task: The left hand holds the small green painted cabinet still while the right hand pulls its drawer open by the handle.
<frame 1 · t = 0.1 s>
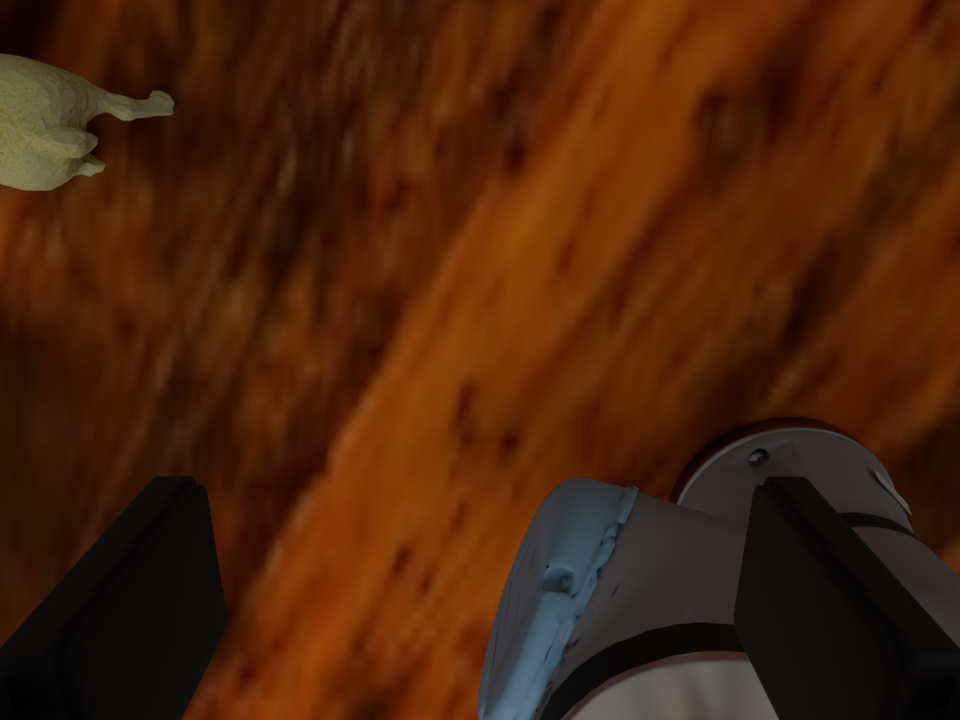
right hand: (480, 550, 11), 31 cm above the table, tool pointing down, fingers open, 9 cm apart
toy: (22, 95, 38), on the table
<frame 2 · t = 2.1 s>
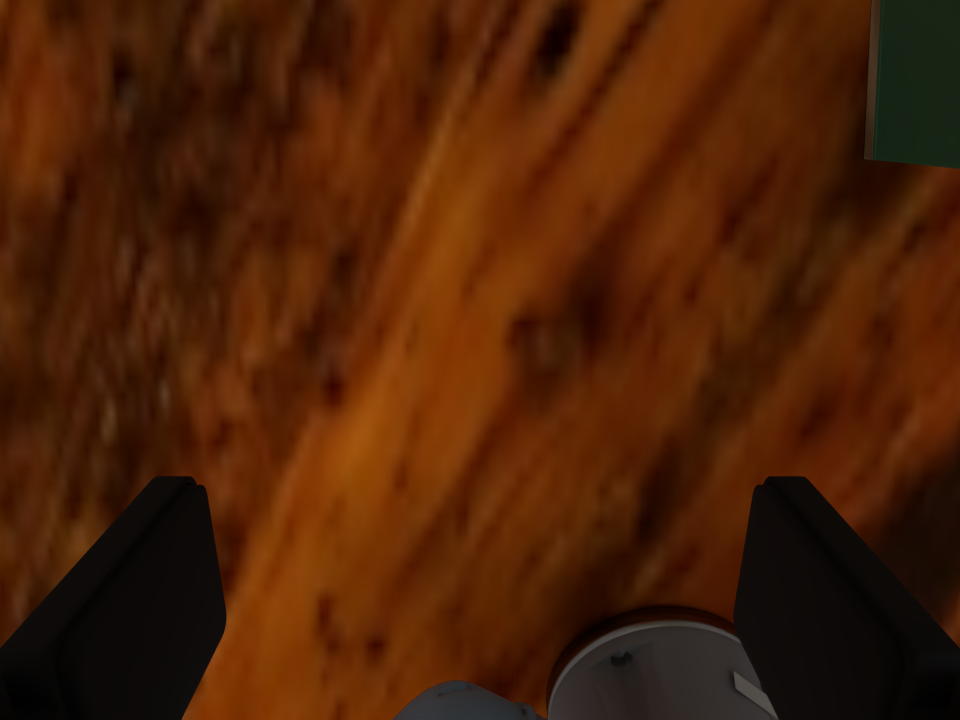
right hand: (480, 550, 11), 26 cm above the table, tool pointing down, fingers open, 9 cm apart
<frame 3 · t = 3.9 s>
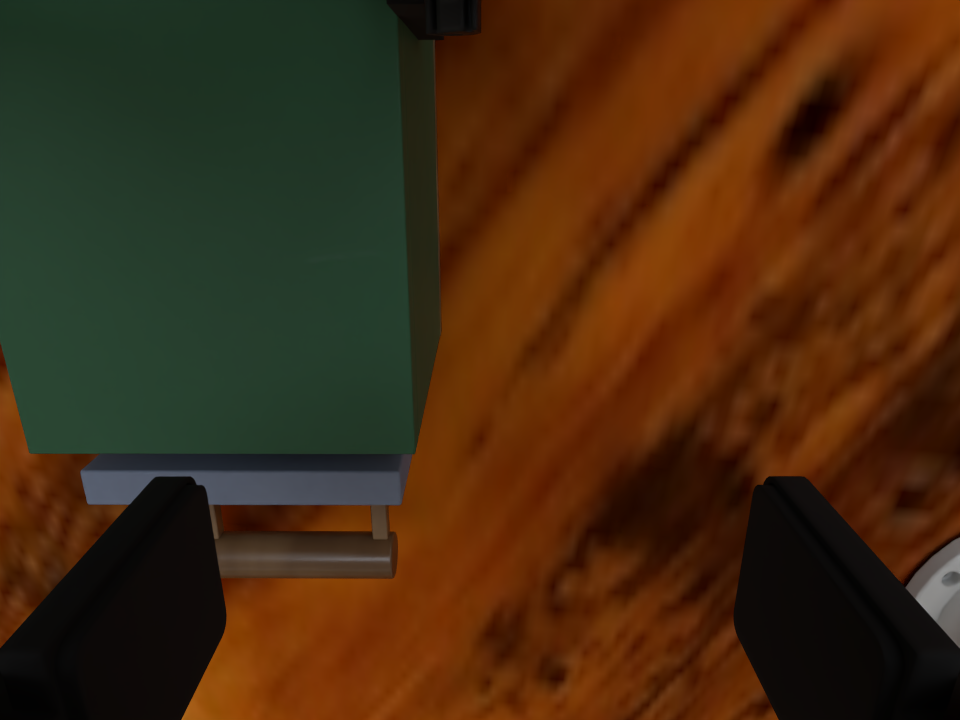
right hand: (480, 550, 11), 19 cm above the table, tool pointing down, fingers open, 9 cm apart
cabinet: (301, 134, 27), on the table, touching left hand
drawer: (274, 319, 23), point 6 cm above the table, slide at 1.1 cm
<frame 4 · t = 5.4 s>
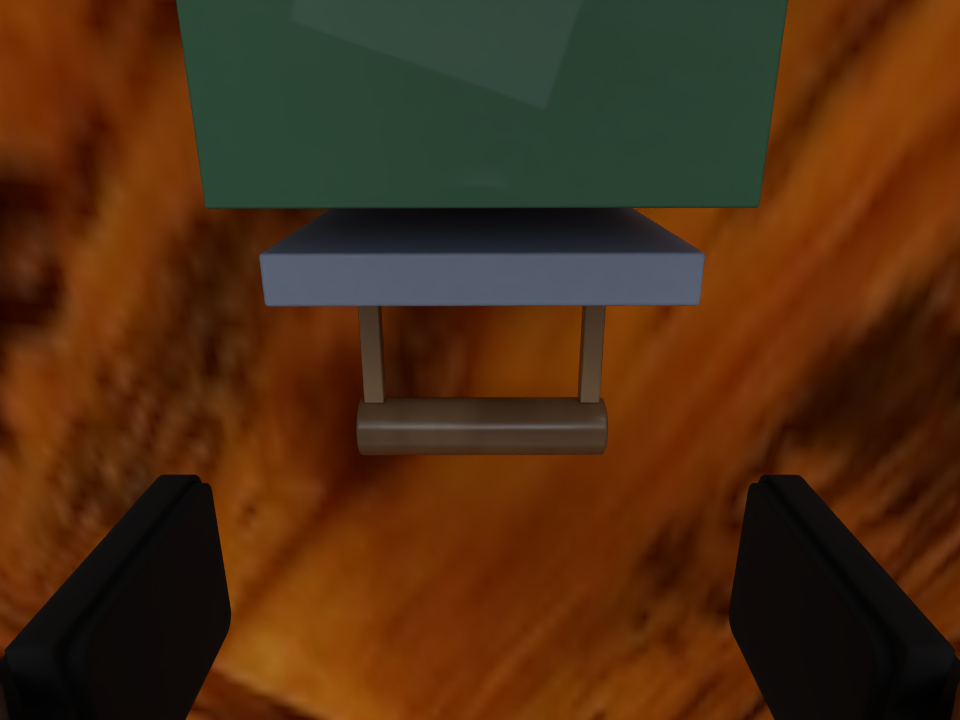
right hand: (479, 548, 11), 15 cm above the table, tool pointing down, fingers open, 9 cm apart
drawer: (481, 92, 18), point 6 cm above the table, slide at 1.1 cm
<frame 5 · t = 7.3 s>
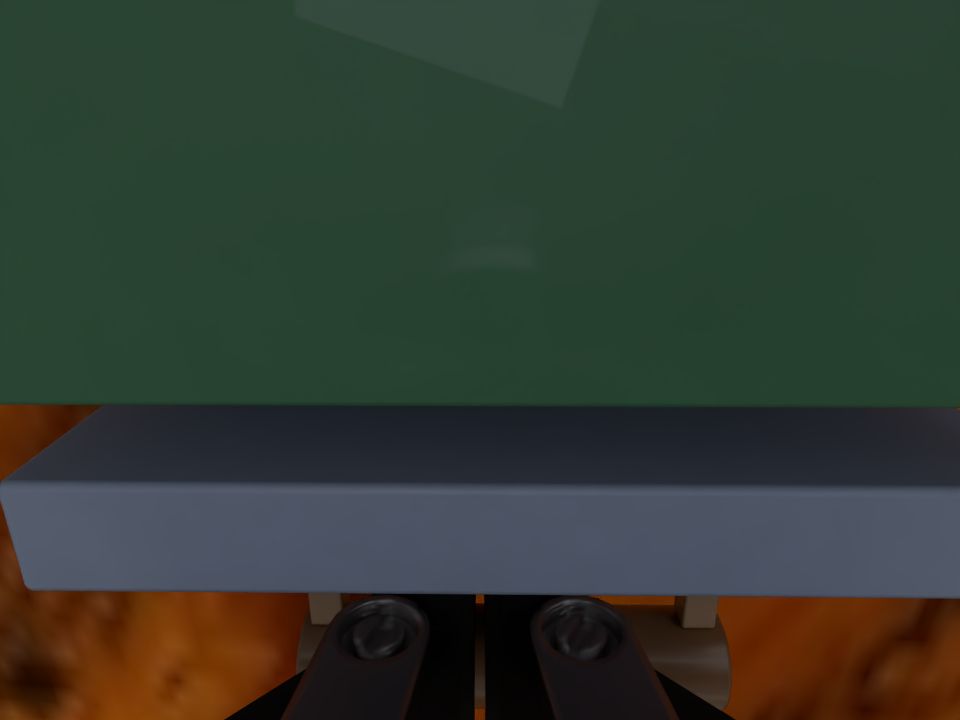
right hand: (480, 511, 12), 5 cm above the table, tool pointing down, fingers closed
drawer: (519, 93, 9), point 6 cm above the table, slide at 1.2 cm, touching right hand
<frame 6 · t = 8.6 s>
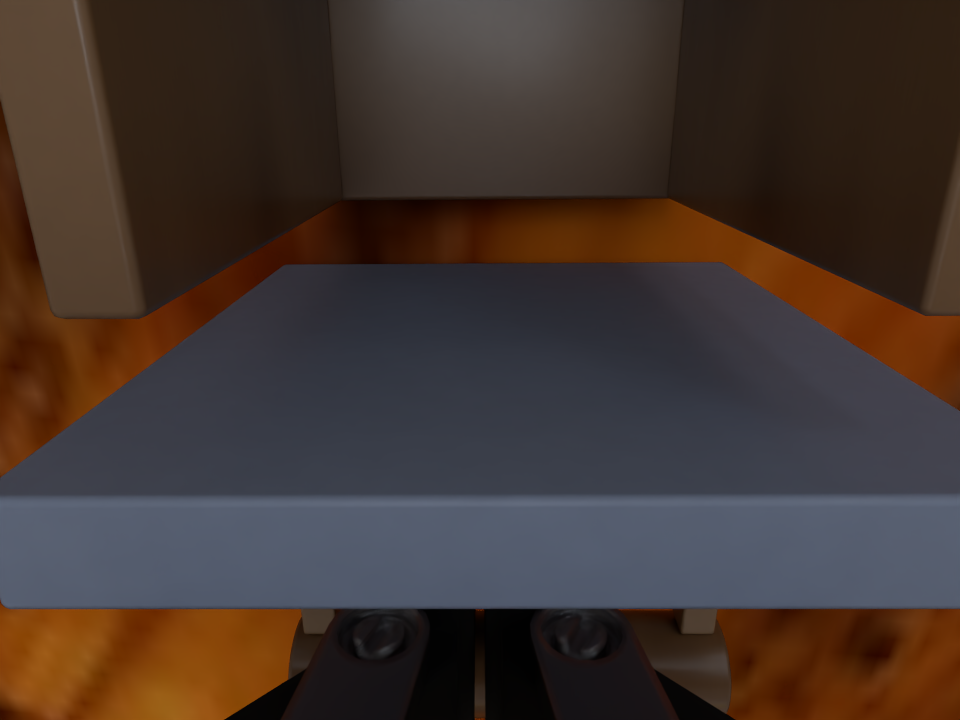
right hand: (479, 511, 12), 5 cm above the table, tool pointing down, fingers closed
drawer: (512, 91, 9), point 6 cm above the table, slide at 7.8 cm, touching right hand
when the left hand's fingers open (7 cm above the table, at t = 10.4 s): cabinet stays where it is, on the table.
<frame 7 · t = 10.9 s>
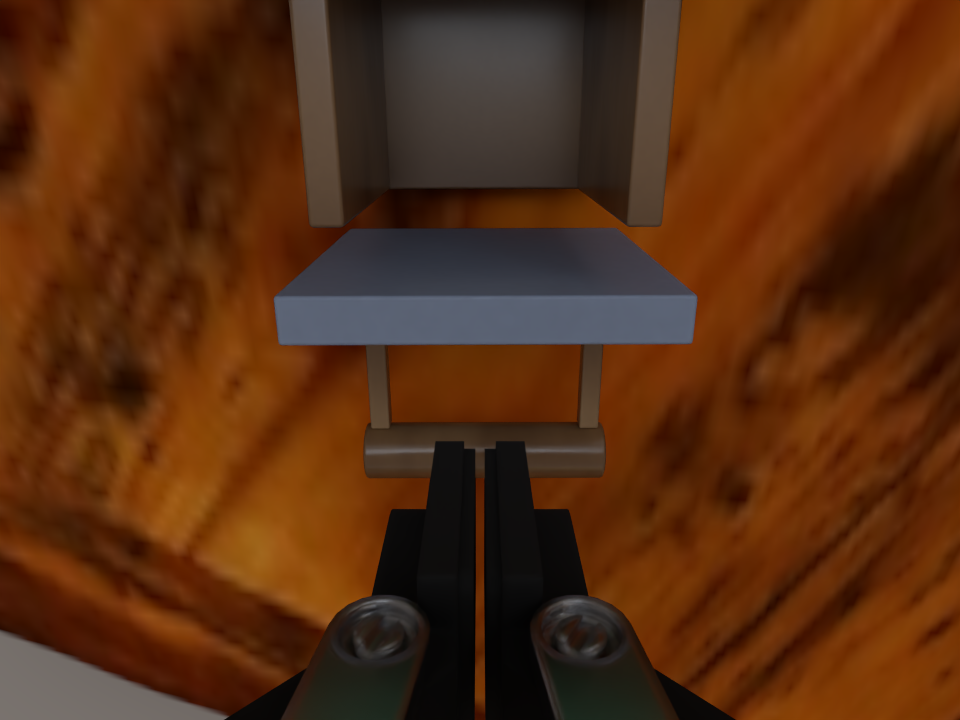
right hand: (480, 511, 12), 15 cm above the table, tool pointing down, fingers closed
drawer: (484, 134, 18), point 6 cm above the table, slide at 7.8 cm
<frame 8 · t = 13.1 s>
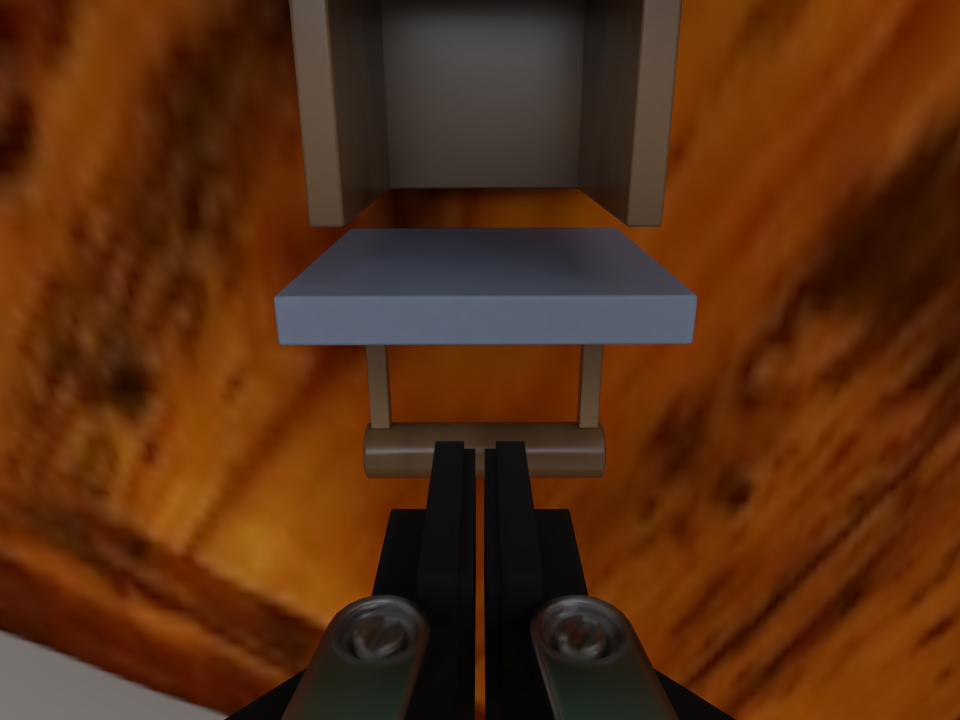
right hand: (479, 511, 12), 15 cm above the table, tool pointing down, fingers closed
drawer: (484, 134, 18), point 6 cm above the table, slide at 7.8 cm
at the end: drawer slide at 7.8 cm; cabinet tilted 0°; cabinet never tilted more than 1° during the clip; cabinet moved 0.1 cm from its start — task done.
